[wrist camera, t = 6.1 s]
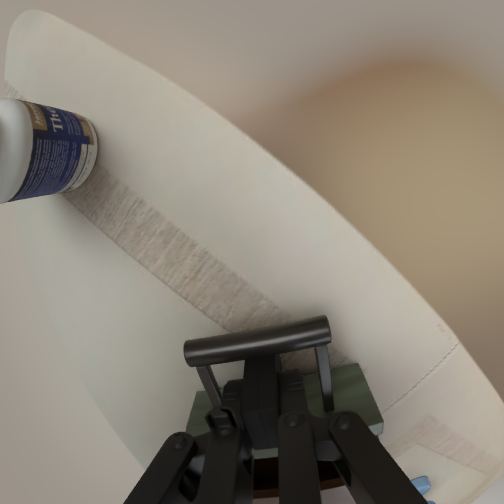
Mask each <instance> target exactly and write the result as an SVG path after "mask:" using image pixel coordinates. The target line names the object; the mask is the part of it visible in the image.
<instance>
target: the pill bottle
mask: <svg viewBox="0 0 504 504" xmlns="http://www.w3.org/2000/svg"><path fill="white" fill-rule="evenodd" d="M97 148H98V144H97V137H96V133H95V130H94V128H93V126H92V124H91V123H90V121H89V120H87V119H86V118H85V117H83V116H81V115H78V114H75V113H72V112H68V111H65V110H61V109H57V108H53V107H49V106H45V105H40V104H35V103H31V102H26V101H22V100H17V99H2V100H0V203H6V202H11V201H16V200H21V199H27V198H32V197H38V196H44V195H50V194H58V193H63V192H68V191H71V190H74V189H76V188H77V187H79V186H80V185H81V184H82V183H83V182H84V181H85V180H86V179H87V177H88V176H89V174H90V172H91V170H92V168H93V166H94V163H95V160H96V155H97Z"/></svg>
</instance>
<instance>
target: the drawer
mask: <svg viewBox="0 0 504 504" xmlns="http://www.w3.org/2000/svg"><path fill="white" fill-rule="evenodd" d="M331 340H332V338H331V331H330V326H329V322H328V319H327V316H326V315H321V316H317V317H312V318H308V319H303V320H299V321H294V322H289V323H284V324H279V325H274V326H269V327H264V328H259V329H254V330H248V331H242V332H237V333H231V334H225V335H219V336H212V337H206V338H199V339H192V340H187V341H185V343H184V357H185V360H186V363H187V364H188V366H190V367H196V369H197V371H198V374H199V376H200V379H201V381H202V383H203V386H204V388H205V391H197V393H196V397H195V400H194V403H193V407H192V410H191V414H190V417H189V420H188V424H187V427H186V431H185V432H187V433H189V434H191V435H192V436H193V437H194V436H198V435H201V434H204V433H207V432H209V431H210V428H209V426H208V424H207V422H206V420H205V418H204V417H205V415H206V413H207V412H208V411H209V410H211V409H213V408H215V407H218V406H220V404H221V399H222V393H223V389H219V387H218V384H217V382H216V379H215V377H214V374H213V372H212V369H211V367H210V365H213V364H221V363H228V362H235V361H241V360H248V359H254V358H260V357H265V356H271V355H276V354H282V353H287V352H292V351H297V350H302V349H306V348H311V347H314V348H315V354H316V360H317V367H318V373H314V374H309V375H305V376H303V381H304V387H305V392H306V398H307V404H308V410H309V412H310V413H311V414H312V415H314V416H316V417H319V418H330V417H331V416H332V415H334V414H335V413H337V412H340V411H343V410H350V411H353V412H356V413H357V414H358V415H359V416H360V417H361V418H362V419H363V421H364V422H365V423H366V425H367V426H368V427H369V428H370V430H371V431H372V432H373V434H374V435H379V434H382V432H383V422H384V421H383V418H382V416H381V414H380V411H379V409H378V407H377V404H376V402H375V400H374V397H373V395H372V393H371V391H370V388H369V386H368V384H367V382H366V379H365V377H364V375H363V373H362V370H361V368H360V366H359V364H358V363H355V364H352V365H348V366H344V367H340V368H336V369H332V370H330V362H329V355H328V347H327V344H328V343H331ZM252 454H253V456H254V483H253V490H262V489H272V488H279V474H278V448H272V449H264V450H254V448H253V445H252ZM316 461H317V468H318V475H319V482H320V481H325V480H330V479H335V478H339V477H340V475H339V473H338V471H337V470H336V468H335V466H334V464H333V463H332V461H322V460H316Z"/></svg>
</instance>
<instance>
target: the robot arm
mask: <svg viewBox="0 0 504 504" xmlns="http://www.w3.org/2000/svg"><path fill="white" fill-rule="evenodd" d="M204 418H205V420H206V422H207V424H208V426H209V428H210V431H209V432H207V433H204V434H201V435H198V436H194V437H193V436H192V435H191V434H189V433H187V432H178V433H174V434H173V435H171V436H169V438H168V439H167V440H166V441H165V443H164V444H163V446H162V447H161V449H160V450H159V452H158V453H157V455H156V456H155V458H154V459H153V461H152V462H151V464H150V465H149V467H148V468H147V470H146V471H145V473H144V474H143V476H142V477H141V479H140V480H139V481H138V483H137V484H136V486H135V487H134V489H133V490H132V492H131V493H130V495H129V496H128V498H127V499H126V500H125V502H124V503H123V504H253V483H254V456H253V454H252V445H253V448H254V450H264V449H272V448H278V474H279V504H322V497H321V489H320V482H319V475H318V468H317V461H316V460H322V461H332V463H333V464H334V466H335V468H336V470H337V471H338V473H339V475H340V477H341V478H342V480H343V482H344V484H345V485H346V487H347V489H348V491H349V492H350V494H351V496H352V497H353V499H354V501H355V503H356V504H428V502H427V501H426V500H425V499H424V497H423V496H422V495H421V494H420V492H419V491H418V490H417V489H416V487H415V486H414V485H413V483H412V482H411V481H410V480H409V478H408V477H407V476H406V475H405V473H404V472H403V471H402V470H401V468H400V467H399V466H398V464H397V463H396V462H395V461H394V459H393V458H392V457H391V456H390V454H389V453H388V452H387V450H386V449H385V448H384V447H383V445H382V444H381V443H380V441H379V440H378V439H377V438H376V436H375V435H374V434H373V432H372V431H371V430H370V428H369V427H368V426H367V425H366V423H365V422H364V421H363V419H362V418H361V417H360V416H359V415H358V414H357V413H356V412H353V411H350V410H343V411H340V412H337V413H335V414H334V415H332V416H331V417H330V418H319V417H316V416H314V415H312V414H311V413H310V412H309V410H308V404H307V398H306V392H305V387H304V381H303V376H302V374H301V373H300V372H299V371H298V369H295V370H289V371H284V372H282V364H281V360H280V356H279V354H276V355H271V356H265V357H260V358H254V359H248V360H245V365H244V375H243V379H237V380H230V381H228V382H227V384H226V385H225V386H224V388H223V393H222V399H221V404H220V406H218V407H215V408H213V409H211V410H209V411H208V412H207V413H206V415H205V417H204Z"/></svg>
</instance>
